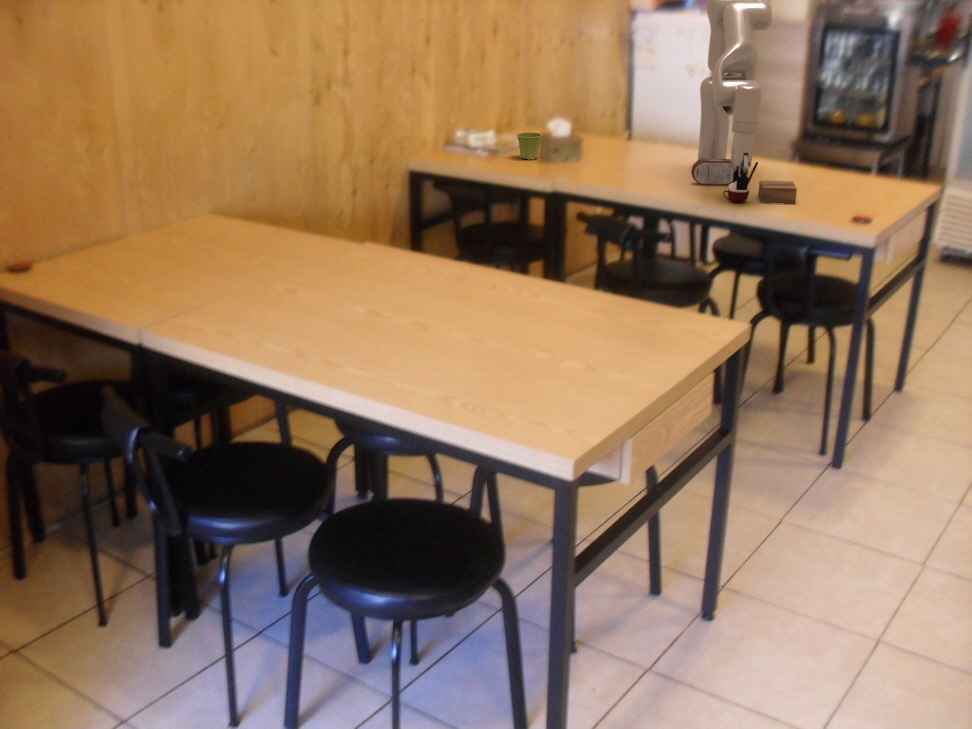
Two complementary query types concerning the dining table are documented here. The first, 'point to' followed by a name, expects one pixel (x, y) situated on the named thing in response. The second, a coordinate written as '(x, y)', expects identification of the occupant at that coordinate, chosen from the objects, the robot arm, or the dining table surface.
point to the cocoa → (739, 195)
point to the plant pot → (529, 144)
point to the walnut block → (777, 192)
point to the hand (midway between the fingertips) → (739, 186)
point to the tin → (713, 171)
